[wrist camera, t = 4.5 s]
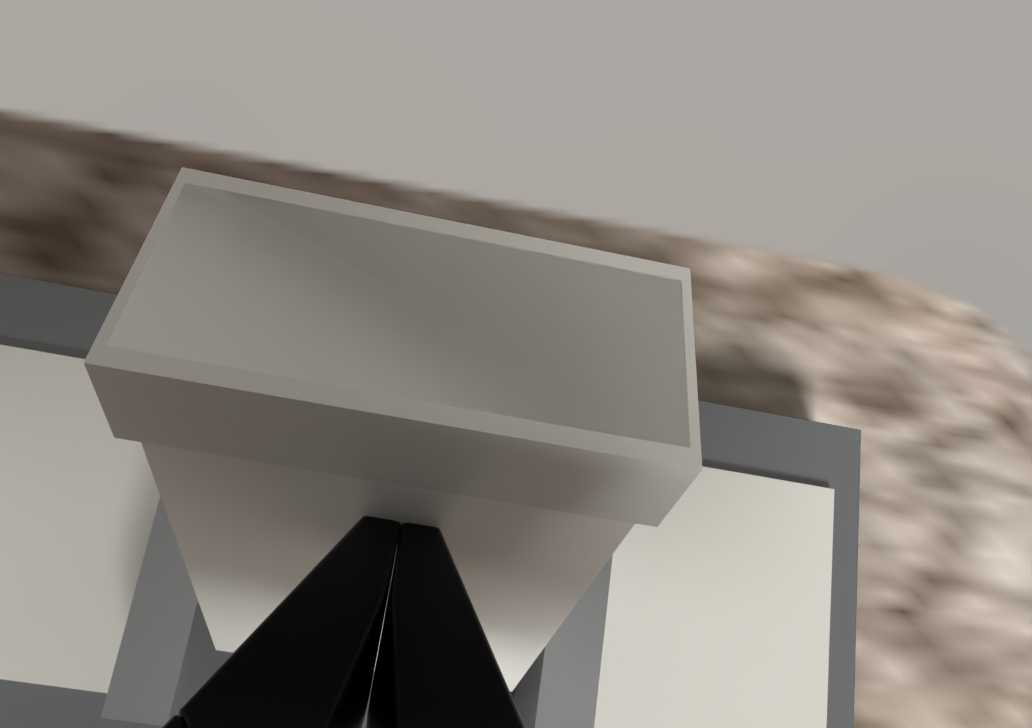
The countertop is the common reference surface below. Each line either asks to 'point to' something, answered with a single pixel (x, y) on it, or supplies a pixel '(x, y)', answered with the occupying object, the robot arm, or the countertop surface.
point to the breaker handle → (396, 397)
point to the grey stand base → (538, 696)
